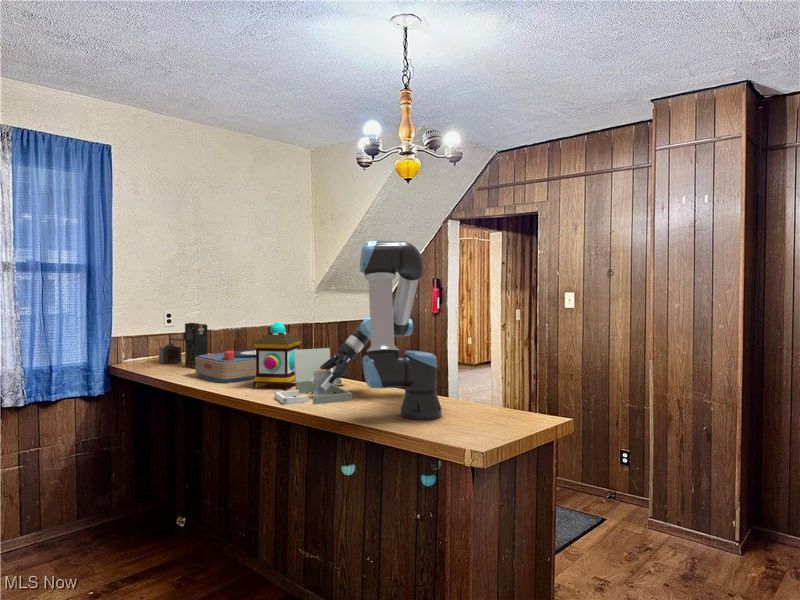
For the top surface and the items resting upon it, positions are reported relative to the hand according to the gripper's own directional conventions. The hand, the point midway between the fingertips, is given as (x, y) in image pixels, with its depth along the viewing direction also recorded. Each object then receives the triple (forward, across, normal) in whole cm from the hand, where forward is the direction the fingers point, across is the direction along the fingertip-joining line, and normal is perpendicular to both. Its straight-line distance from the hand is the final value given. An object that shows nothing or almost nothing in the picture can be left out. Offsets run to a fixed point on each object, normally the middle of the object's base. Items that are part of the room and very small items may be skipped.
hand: (317, 385), depth 235 cm
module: (+2, 0, -5) cm, 5 cm away
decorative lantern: (+10, +33, +2) cm, 34 cm away
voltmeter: (+28, +111, +21) cm, 116 cm away
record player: (+14, +72, +6) cm, 74 cm away
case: (+2, +2, -5) cm, 6 cm away
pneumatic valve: (-8, +23, -16) cm, 29 cm away
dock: (+11, 0, +4) cm, 12 cm away
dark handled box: (+35, +136, +27) cm, 143 cm away
